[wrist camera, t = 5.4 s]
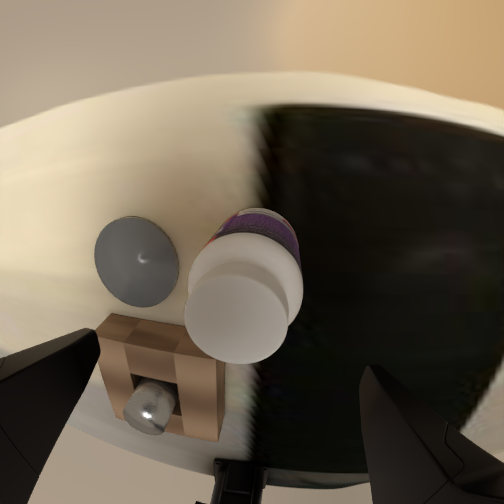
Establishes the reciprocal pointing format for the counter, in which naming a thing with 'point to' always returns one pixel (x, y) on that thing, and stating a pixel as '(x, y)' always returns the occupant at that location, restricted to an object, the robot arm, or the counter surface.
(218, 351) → the pill bottle
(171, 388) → the plug
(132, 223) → the coaster
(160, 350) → the socket block
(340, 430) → the counter surface
